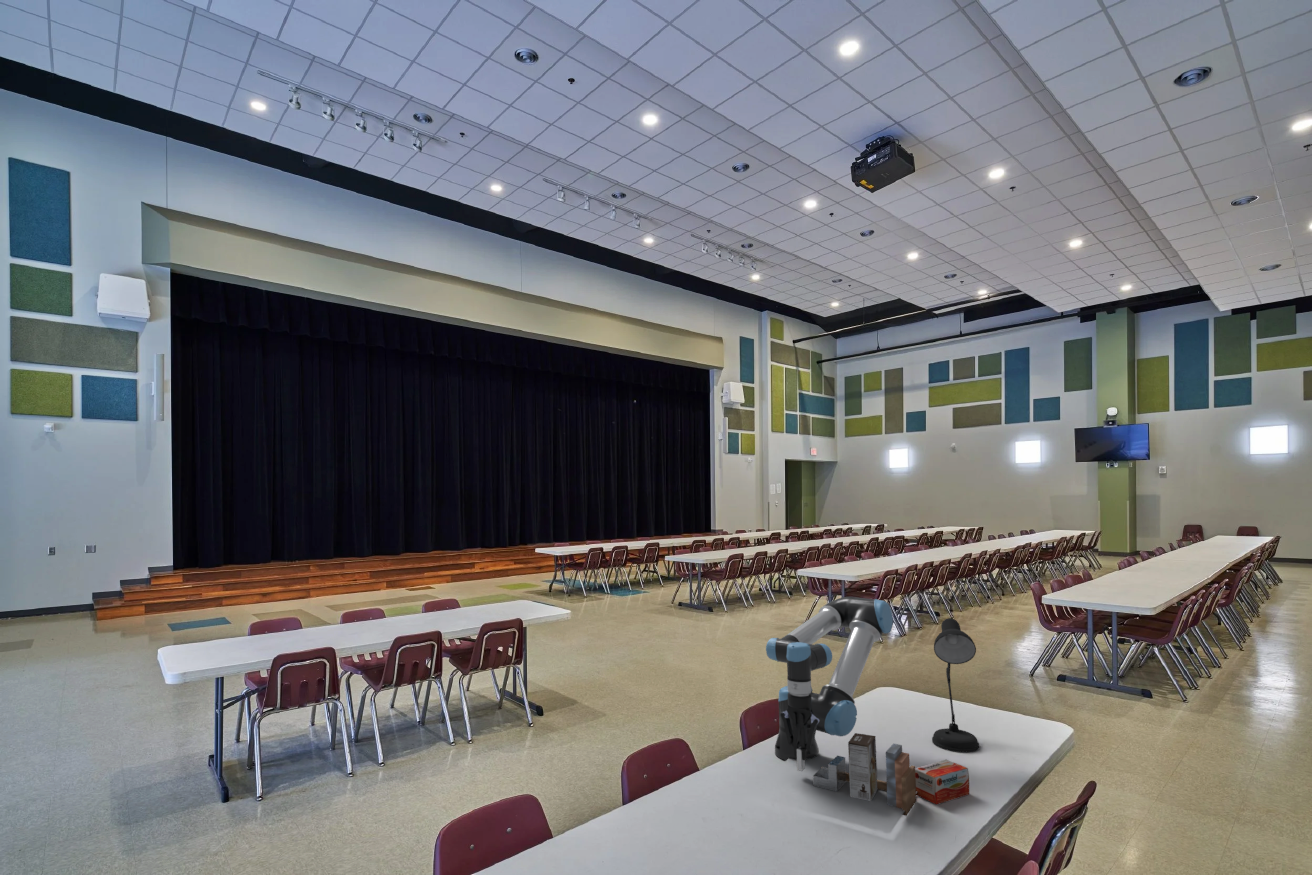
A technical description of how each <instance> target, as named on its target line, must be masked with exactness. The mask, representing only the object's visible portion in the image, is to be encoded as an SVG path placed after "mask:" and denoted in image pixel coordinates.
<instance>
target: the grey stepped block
mask: <svg viewBox="0 0 1312 875" xmlns="http://www.w3.org/2000/svg"><path fill="white" fill-rule="evenodd" d="M827 765H828V767H826V766H821V767H822V768H821V767H820V769H819V770H817V771H816V772H815V773H814V774H813V775H812V783H813V787H817V788H821V789H825V790H828V791H829V790H830V791H833V792H836V793H837V792H838V791H840V789H841V788H842V787H843V786H844V785H845V784H846V783H847V781H846V772H847V771H846V770H847V769H846V768H847V767H846V765H847V764H846V757H845V756H841V755H836V757H834V758H833V759H832V760H831V761H830V762H829V763H828V764H827Z"/></svg>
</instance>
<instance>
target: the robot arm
mask: <svg viewBox="0 0 1312 875" xmlns="http://www.w3.org/2000/svg"><path fill="white" fill-rule="evenodd" d="M893 623H894V621H893V611H892V609H891V606H890V605H889V603H888V602H887V601H885V600H882V599H881V600H880V599H878V598H875V599H874V598H864V597H858V596H857V597H856V596H844V597H840V598H837V599H834V600H831V601H830V602H828V603H826V604H824V605H823V606H821V607H820V609H819V610H818V613H816V614H815V615H813V616H812V617H811V618H809V619H808V620H806V621H805V622H803V623H802V624H800V625H799V626H797V627H796V628H795V629H793V630H792V631H790V632H789V633H787V634H786V635H784V636H783V637H781V638H779V637H771V638H769V639H768V641H767V643H766V646H765V651H766V656H767V657H768V659H769V660H772V661H777V663H778V662H780V663H785V664H786V668H787V670H786V671H787V678H786V679H787V685H785V686H783V687H781V688H780V689H779V691H778V718H779V720H778V721H779V723H778V724H779V726H778V727H779V730H778V734H777V738H776V742H775V744H774V754H775V756H776V757H777V758H778V759H780V760H784V761H788V760H789V759H792V760H796V770H797V771H798V772H803V771H804V770H805V769H806V764H805V763H806V760H809V759H813V758H815V757H817V756H820V752H819V750H820V749H819V746H818V743H817V739H816V733H817V731H818V732H821V733H824V734H825V733H826V734H827V735H830V736H836V737H846V736H847V735H849V734H850V733H851V732H852V731H853V729H854V727H855V726H856V722H857V716H858V711H857V706H856V704H855V703H856V702H855V699H854V698H853V696H854V693H855V691H856V688H857V686H858V684H859V682H860V681H859V680H860V679H861V675H862V673H863V670H864V669H865V665H866V664H867V661H868V658H869V656H870V653H871V650H872V648H873V645H874V644H875V642H878V641H880V639H881V637H882V635H883V634H885V635H886V634H889V633H891V631H892V628H893ZM839 628H848V629H849V630H850V633H849V635H848V637H847V640H846V643H845V644H844V647H843V650H842V651H841V654H840V657H839V658H838V661H837V664H836V665H835V668H834V671H833V673H832V675H831V678H830V680H829V683H828V684H825V685H822V687H821V689H820V691H819V693H817V692H813V687H812V672H813V671H816V670H818V669H823V668H825V667H827V666H829V665H830V664H831V663H832V661H833V653H832V650H831V648H830V646H828V645H827V644H825V643H816V642H817V641H818V640H819V639H821V638H823V637H824V636H825V635H826V634H828V633H829V632H830V631H831V632H832V631H836V630H838V629H839Z"/></svg>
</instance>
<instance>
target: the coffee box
mask: <svg viewBox="0 0 1312 875" xmlns="http://www.w3.org/2000/svg"><path fill="white" fill-rule="evenodd" d="M876 738H877V737H876V735H869V734H865V733H857V732H856V733H855V732H854V734H853V735H852V737H851V738H850V739H849V741H848V742H847V745H848V746H847V747H848V773H849V778H850V782H849V796H850V798H855V799H860V800H864V801H869V802H871V801H872V800H873V798H874V797H875V795H876V794H877V792H878V790H879V789H877V780H878V770H877V769H878V768H877V747H876V745H877V744H876V743H877V742H876Z"/></svg>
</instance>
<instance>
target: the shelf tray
mask: <svg viewBox="0 0 1312 875" xmlns="http://www.w3.org/2000/svg"><path fill="white" fill-rule="evenodd" d="M822 767H823V766H821V767H820V769H821V768H822ZM885 767H886V768H885V770H886V772H885V773H886V781H885V780H880V779H877V789H878V790H881V791H886V798H887V805H888V806H891V807H893V808H894V807H895V808H898V809H902V811H903V812H902V814H901V815H902V816H905V817H907V816H908V815H909V813H910V811H911V809H912V808H913V807H914V805H915V804H916V802H917V795H916V793H917V791H916V778H915V768H916V766H915V765H911V766H910V753H909V752H903V745H902V744H899V743H892V744H891V746H889V748H888V749H887V750H886V751H885ZM846 782H849V783H850V778H849V772H847V771H846Z"/></svg>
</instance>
